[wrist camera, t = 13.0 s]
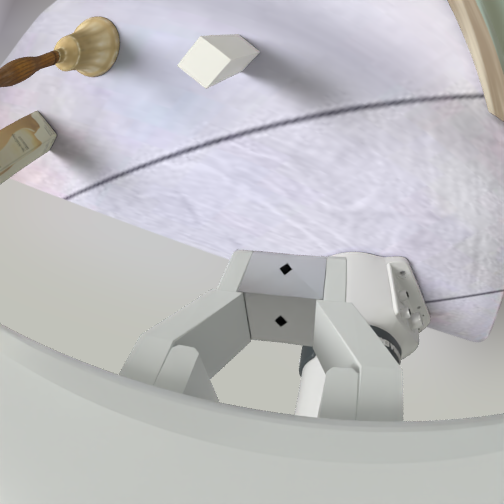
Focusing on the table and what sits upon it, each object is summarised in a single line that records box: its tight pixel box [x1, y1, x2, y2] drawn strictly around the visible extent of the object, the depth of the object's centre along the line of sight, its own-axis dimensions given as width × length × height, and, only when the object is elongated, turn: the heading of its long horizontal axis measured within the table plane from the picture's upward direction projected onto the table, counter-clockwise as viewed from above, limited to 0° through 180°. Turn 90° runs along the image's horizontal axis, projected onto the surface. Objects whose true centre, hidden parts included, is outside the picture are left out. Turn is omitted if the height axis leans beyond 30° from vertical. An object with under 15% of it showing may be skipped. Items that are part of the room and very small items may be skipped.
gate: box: [447, 0, 504, 121], centre depth 14 cm, size 3×21×8 cm, turn 31°
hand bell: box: [0, 17, 120, 87], centre depth 22 cm, size 8×8×16 cm
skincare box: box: [0, 111, 57, 184], centre depth 33 cm, size 6×4×12 cm
